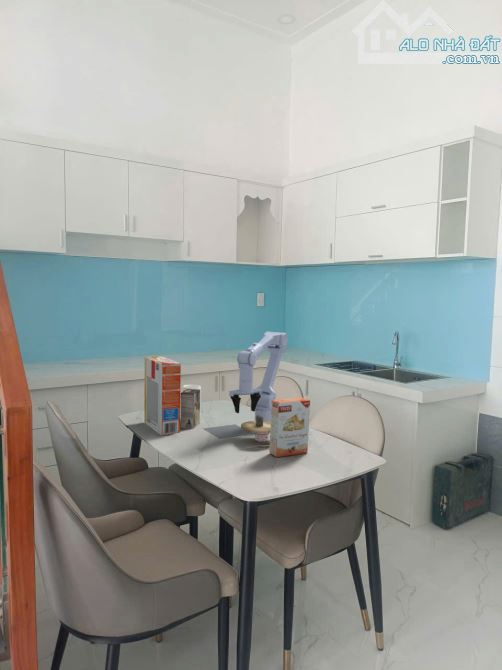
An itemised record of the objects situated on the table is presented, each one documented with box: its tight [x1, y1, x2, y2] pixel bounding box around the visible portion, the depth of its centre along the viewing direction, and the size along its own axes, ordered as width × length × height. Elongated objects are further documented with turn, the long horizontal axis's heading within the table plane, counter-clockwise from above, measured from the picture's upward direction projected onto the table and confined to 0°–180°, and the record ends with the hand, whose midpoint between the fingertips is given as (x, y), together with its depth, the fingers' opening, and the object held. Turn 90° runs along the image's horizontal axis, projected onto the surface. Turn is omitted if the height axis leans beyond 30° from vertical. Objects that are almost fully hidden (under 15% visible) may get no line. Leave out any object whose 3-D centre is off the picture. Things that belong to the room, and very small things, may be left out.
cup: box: [182, 384, 202, 413], centre depth 239 cm, size 8×8×16 cm
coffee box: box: [180, 389, 201, 430], centre depth 228 cm, size 9×6×16 cm
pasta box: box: [143, 355, 182, 437], centre depth 224 cm, size 23×8×30 cm, turn 30°
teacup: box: [254, 432, 270, 447], centre depth 208 cm, size 12×12×6 cm
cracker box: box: [269, 397, 311, 458], centre depth 194 cm, size 14×6×21 cm, turn 117°
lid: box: [240, 415, 271, 434], centre depth 208 cm, size 15×15×5 cm
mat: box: [202, 424, 254, 439], centre depth 221 cm, size 16×16×1 cm
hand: (245, 411), depth 215 cm, fingers open, 7 cm apart
